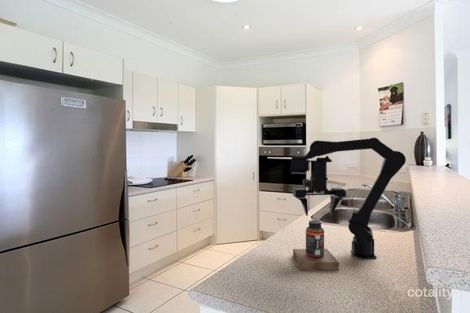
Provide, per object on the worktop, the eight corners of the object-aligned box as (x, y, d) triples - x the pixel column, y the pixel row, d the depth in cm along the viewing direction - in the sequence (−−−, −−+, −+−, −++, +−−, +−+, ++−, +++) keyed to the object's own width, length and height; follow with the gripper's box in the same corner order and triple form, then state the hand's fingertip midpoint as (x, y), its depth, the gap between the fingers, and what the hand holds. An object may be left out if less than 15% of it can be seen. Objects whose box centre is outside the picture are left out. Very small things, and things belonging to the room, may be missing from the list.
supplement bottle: (323, 259, 91) (323, 224, 90) (304, 256, 93) (304, 222, 93) (325, 253, 96) (325, 220, 96) (307, 250, 99) (307, 218, 98)
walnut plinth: (326, 255, 101) (326, 248, 101) (338, 270, 89) (338, 262, 89) (293, 255, 101) (293, 248, 101) (300, 270, 89) (300, 262, 89)
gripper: (336, 172, 114) (336, 210, 114) (289, 172, 114) (290, 211, 114) (346, 174, 103) (347, 217, 103) (295, 175, 103) (295, 217, 103)
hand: (318, 215), depth 106 cm, fingers open, 9 cm apart
